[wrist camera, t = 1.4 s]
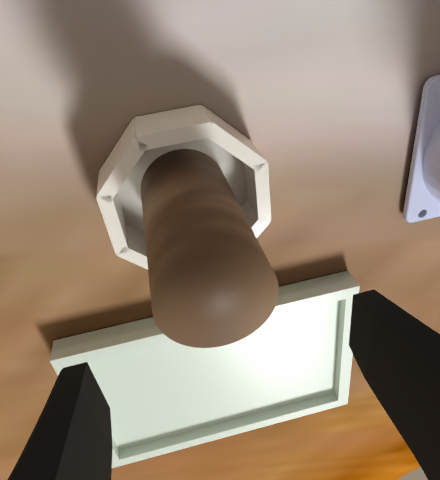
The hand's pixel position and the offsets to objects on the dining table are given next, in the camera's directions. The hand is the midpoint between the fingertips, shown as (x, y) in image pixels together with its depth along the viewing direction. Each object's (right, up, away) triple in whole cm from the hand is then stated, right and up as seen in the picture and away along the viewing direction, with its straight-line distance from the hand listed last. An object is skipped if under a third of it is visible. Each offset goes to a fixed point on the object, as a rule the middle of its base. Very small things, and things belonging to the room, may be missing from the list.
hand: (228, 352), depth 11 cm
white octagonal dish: (-2, +6, +8) cm, 11 cm away
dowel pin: (-2, +5, +8) cm, 10 cm away
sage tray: (0, -6, +16) cm, 18 cm away
